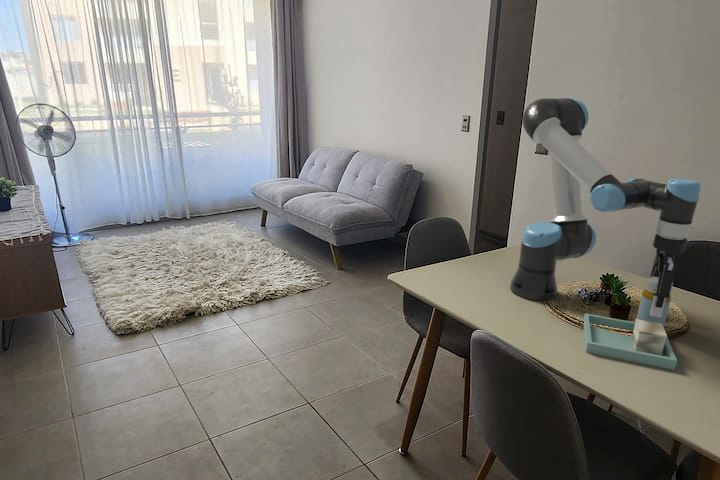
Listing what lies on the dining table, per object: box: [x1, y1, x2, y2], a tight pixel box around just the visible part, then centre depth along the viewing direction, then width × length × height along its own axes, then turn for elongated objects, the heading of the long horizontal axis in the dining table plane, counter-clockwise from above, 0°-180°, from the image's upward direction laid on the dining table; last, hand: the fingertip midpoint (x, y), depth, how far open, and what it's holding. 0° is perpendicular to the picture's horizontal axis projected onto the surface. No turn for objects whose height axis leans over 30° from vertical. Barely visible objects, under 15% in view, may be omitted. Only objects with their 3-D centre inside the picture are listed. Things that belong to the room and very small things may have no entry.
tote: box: [582, 312, 678, 371], centre depth 125 cm, size 20×18×4 cm
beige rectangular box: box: [631, 318, 668, 356], centre depth 123 cm, size 6×7×6 cm
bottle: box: [635, 276, 674, 328], centre depth 134 cm, size 7×7×15 cm
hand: (652, 310), depth 134 cm, fingers closed on bottle, 7 cm apart
